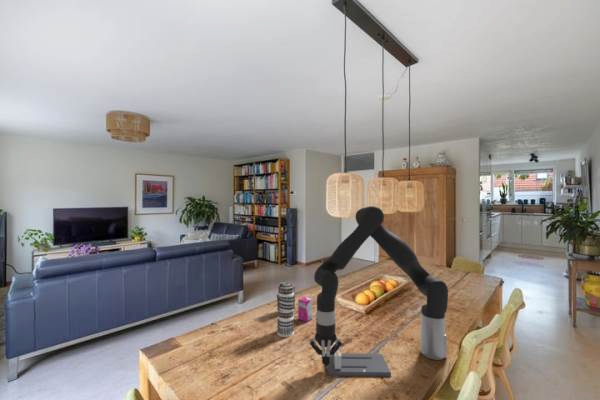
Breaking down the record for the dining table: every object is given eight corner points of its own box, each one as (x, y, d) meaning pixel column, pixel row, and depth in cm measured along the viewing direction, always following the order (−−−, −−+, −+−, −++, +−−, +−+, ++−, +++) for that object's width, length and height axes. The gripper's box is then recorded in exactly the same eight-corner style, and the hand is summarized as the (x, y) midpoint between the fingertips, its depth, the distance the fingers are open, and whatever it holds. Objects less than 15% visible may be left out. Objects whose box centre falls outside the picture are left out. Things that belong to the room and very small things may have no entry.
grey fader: (339, 362, 106) (339, 349, 106) (341, 369, 102) (341, 355, 102) (333, 362, 106) (333, 349, 106) (334, 369, 102) (334, 355, 102)
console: (381, 357, 113) (381, 353, 113) (391, 376, 101) (391, 372, 101) (325, 356, 113) (325, 353, 113) (327, 375, 101) (327, 371, 101)
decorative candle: (273, 335, 131) (273, 284, 131) (281, 327, 139) (281, 279, 139) (290, 339, 128) (291, 286, 128) (297, 330, 136) (297, 281, 136)
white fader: (339, 354, 112) (339, 341, 112) (340, 359, 108) (340, 347, 108) (333, 354, 112) (333, 341, 112) (334, 359, 108) (334, 347, 108)
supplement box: (304, 316, 153) (304, 296, 153) (312, 319, 149) (312, 298, 149) (297, 319, 148) (297, 299, 148) (306, 322, 144) (306, 301, 144)
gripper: (341, 316, 108) (341, 358, 108) (308, 316, 108) (308, 358, 108) (344, 325, 101) (344, 370, 101) (309, 324, 101) (308, 370, 101)
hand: (325, 364), depth 104 cm, fingers closed
